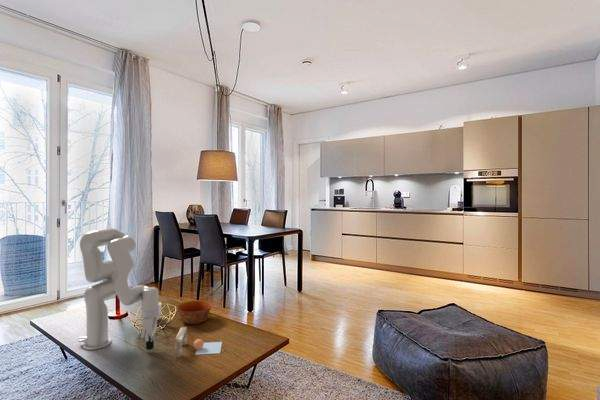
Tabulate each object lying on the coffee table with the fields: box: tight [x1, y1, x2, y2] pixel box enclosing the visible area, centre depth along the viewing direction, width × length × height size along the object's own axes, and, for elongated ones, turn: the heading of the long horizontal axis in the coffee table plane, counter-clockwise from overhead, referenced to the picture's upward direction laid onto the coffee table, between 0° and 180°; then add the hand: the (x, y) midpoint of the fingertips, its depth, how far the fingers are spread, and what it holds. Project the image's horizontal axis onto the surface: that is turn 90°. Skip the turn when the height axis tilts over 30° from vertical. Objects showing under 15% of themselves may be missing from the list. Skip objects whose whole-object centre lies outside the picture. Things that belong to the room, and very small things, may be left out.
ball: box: [193, 338, 205, 351], centre depth 167 cm, size 5×5×5 cm
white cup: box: [157, 301, 162, 319], centre depth 203 cm, size 8×8×10 cm
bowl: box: [176, 300, 213, 325], centre depth 202 cm, size 21×21×10 cm
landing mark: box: [194, 341, 223, 356], centre depth 169 cm, size 12×12×1 cm
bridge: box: [174, 326, 188, 358], centre depth 166 cm, size 3×14×9 cm, turn 9°
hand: (149, 348), depth 164 cm, fingers closed
